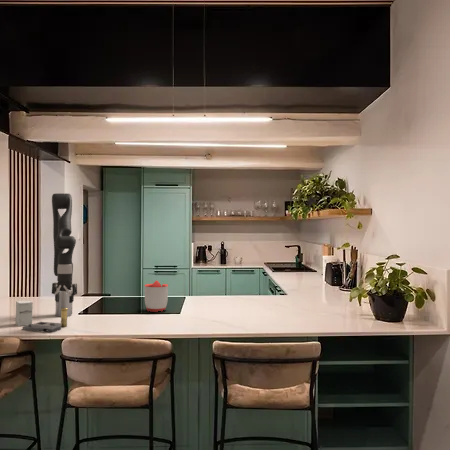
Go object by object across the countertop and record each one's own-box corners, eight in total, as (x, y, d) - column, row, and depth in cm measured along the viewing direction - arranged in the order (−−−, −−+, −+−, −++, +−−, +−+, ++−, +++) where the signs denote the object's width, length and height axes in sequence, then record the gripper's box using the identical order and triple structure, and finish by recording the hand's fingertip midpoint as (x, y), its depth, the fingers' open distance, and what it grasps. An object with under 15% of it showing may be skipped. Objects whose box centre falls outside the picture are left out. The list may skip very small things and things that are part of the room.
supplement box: (17, 326, 227) (18, 303, 227) (15, 323, 233) (15, 301, 233) (32, 324, 231) (32, 302, 231) (29, 322, 237) (30, 300, 237)
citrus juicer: (170, 308, 285) (171, 279, 285) (164, 313, 268) (165, 282, 268) (148, 307, 287) (149, 278, 287) (140, 312, 269) (141, 281, 270)
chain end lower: (31, 326, 227) (32, 322, 227) (52, 328, 224) (52, 324, 224) (22, 329, 220) (22, 325, 220) (43, 331, 217) (43, 327, 217)
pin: (63, 325, 230) (63, 307, 230) (68, 326, 230) (69, 308, 230) (58, 327, 227) (59, 308, 227) (64, 327, 226) (65, 309, 226)
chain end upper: (40, 327, 226) (40, 320, 226) (60, 329, 222) (61, 322, 222) (31, 330, 219) (31, 323, 219) (52, 332, 215) (52, 325, 216)
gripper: (80, 272, 230) (79, 302, 230) (57, 271, 234) (57, 300, 234) (72, 273, 223) (71, 304, 223) (49, 272, 227) (48, 302, 226)
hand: (64, 302), depth 228 cm, fingers open, 8 cm apart
